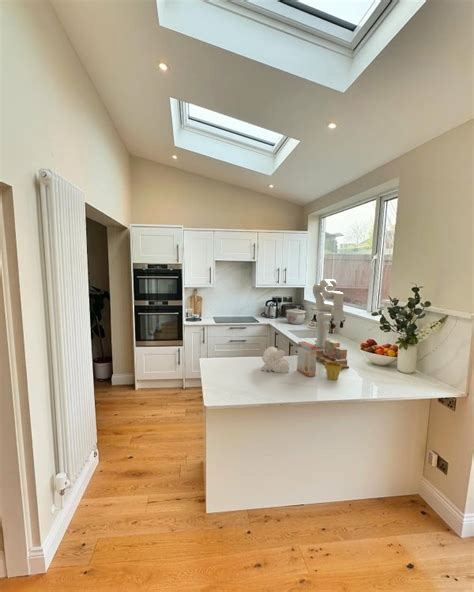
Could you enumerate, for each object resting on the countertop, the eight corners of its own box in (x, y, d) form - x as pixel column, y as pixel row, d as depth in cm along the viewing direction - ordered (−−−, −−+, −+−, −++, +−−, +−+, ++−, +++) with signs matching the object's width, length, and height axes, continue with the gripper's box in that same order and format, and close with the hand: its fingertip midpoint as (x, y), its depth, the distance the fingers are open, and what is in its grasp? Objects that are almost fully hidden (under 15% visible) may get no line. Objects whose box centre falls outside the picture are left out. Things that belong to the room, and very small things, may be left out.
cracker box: (315, 376, 198) (317, 345, 196) (308, 377, 195) (310, 346, 193) (303, 369, 210) (304, 340, 208) (296, 370, 208) (297, 341, 206)
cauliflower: (299, 360, 201) (276, 346, 196) (284, 386, 199) (260, 372, 195) (288, 354, 219) (267, 341, 215) (274, 377, 217) (252, 364, 213)
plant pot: (338, 382, 187) (339, 367, 186) (322, 379, 193) (323, 364, 192) (342, 377, 196) (343, 363, 195) (326, 374, 202) (327, 360, 201)
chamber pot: (306, 326, 375) (307, 309, 373) (284, 324, 379) (285, 308, 377) (305, 322, 402) (306, 307, 400) (285, 321, 407) (285, 306, 405)
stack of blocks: (346, 360, 234) (347, 345, 233) (340, 361, 232) (340, 346, 231) (330, 353, 254) (330, 339, 253) (323, 353, 252) (324, 339, 251)
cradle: (310, 357, 238) (310, 350, 238) (321, 356, 243) (322, 349, 243) (336, 370, 211) (336, 361, 210) (348, 368, 216) (349, 359, 215)
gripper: (342, 306, 246) (341, 326, 248) (326, 307, 239) (325, 327, 241) (349, 307, 240) (348, 328, 241) (332, 308, 233) (331, 329, 234)
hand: (336, 328), depth 241 cm, fingers open, 9 cm apart
